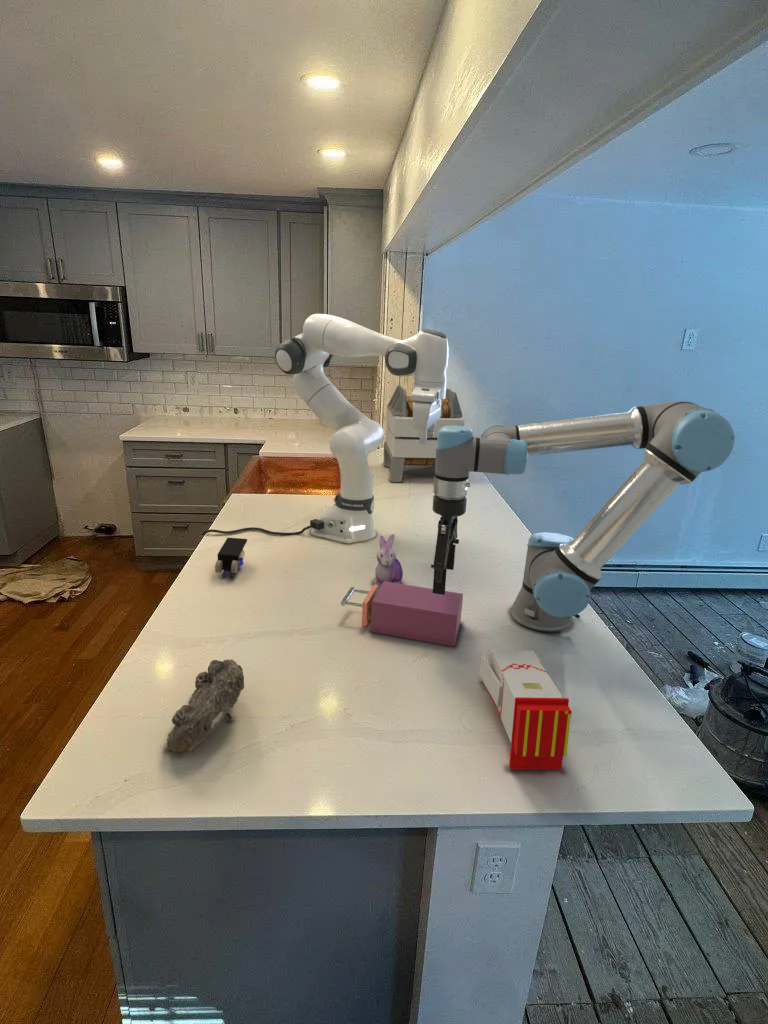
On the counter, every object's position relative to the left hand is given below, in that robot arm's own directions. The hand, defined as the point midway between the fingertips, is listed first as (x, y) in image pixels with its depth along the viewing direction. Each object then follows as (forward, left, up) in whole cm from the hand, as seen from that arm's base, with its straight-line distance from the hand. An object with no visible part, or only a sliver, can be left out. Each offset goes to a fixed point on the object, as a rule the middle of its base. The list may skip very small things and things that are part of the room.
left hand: (426, 440), depth 162 cm
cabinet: (+8, -35, -40) cm, 53 cm away
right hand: (+13, -36, -25) cm, 46 cm away
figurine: (-5, -15, -40) cm, 43 cm away
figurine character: (-51, -22, -40) cm, 69 cm away
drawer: (+1, -35, -39) cm, 52 cm away
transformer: (-23, +104, -40) cm, 113 cm away
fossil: (-22, -80, -40) cm, 92 cm away
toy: (+34, -61, -40) cm, 80 cm away
